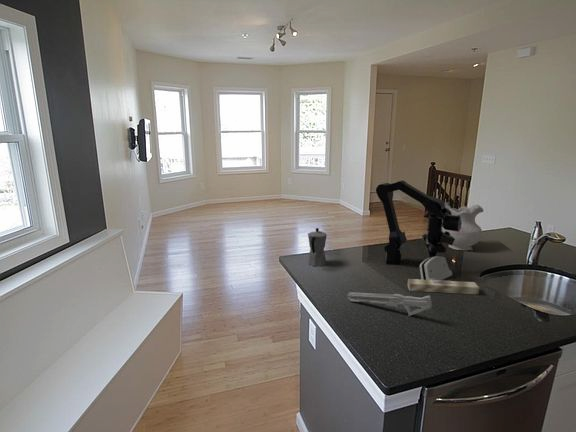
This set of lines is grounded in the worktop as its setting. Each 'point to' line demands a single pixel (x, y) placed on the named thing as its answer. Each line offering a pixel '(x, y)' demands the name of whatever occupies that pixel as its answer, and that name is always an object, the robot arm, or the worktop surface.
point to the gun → (395, 301)
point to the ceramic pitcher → (465, 227)
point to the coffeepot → (317, 248)
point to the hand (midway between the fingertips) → (431, 260)
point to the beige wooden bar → (443, 286)
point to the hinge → (435, 269)
